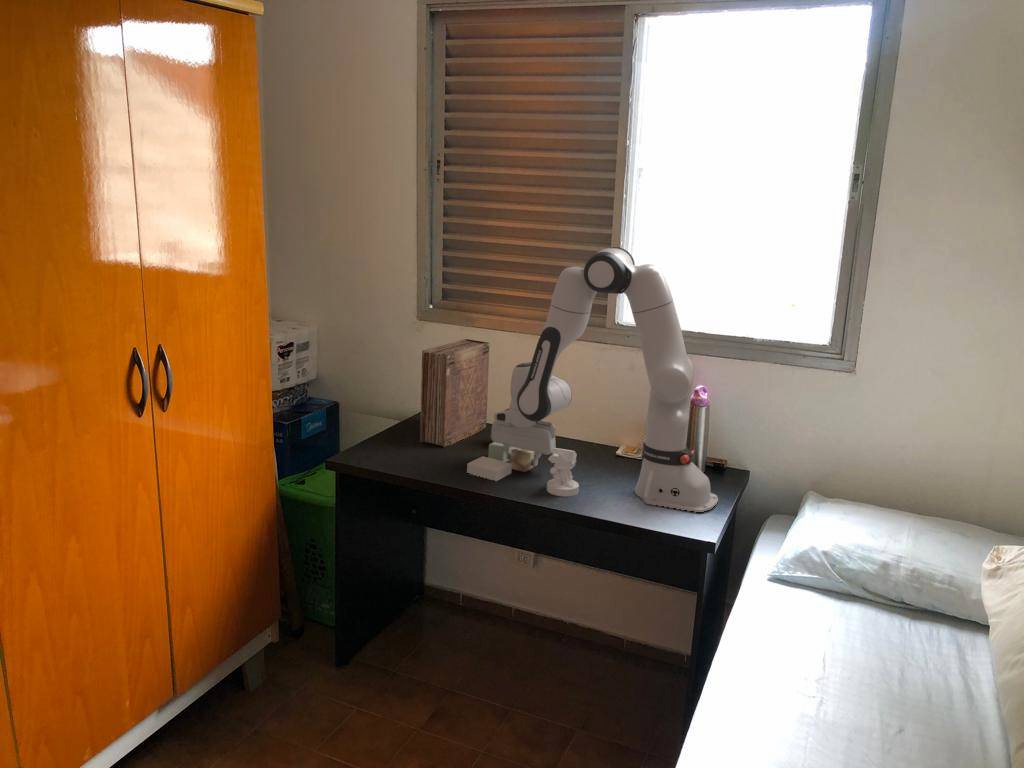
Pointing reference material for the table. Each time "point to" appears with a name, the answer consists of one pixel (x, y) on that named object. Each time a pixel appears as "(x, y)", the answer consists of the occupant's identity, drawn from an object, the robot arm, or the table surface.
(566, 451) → the character figurine
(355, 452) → the table surface
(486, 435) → the table surface
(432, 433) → the book
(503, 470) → the tile slab
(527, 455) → the maple cube
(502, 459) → the sage cube
